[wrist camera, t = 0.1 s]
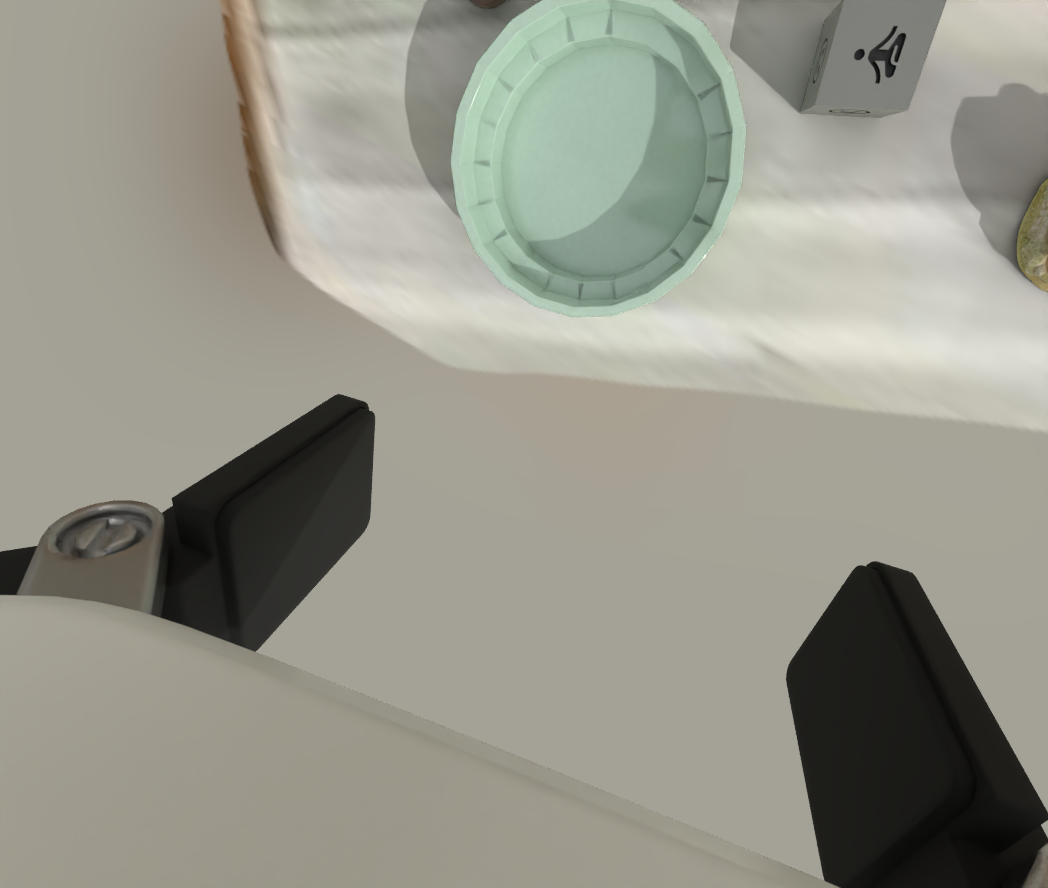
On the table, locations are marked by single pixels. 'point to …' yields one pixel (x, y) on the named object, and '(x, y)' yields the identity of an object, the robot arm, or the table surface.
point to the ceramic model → (1035, 240)
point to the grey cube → (871, 57)
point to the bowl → (598, 153)
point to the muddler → (487, 3)
